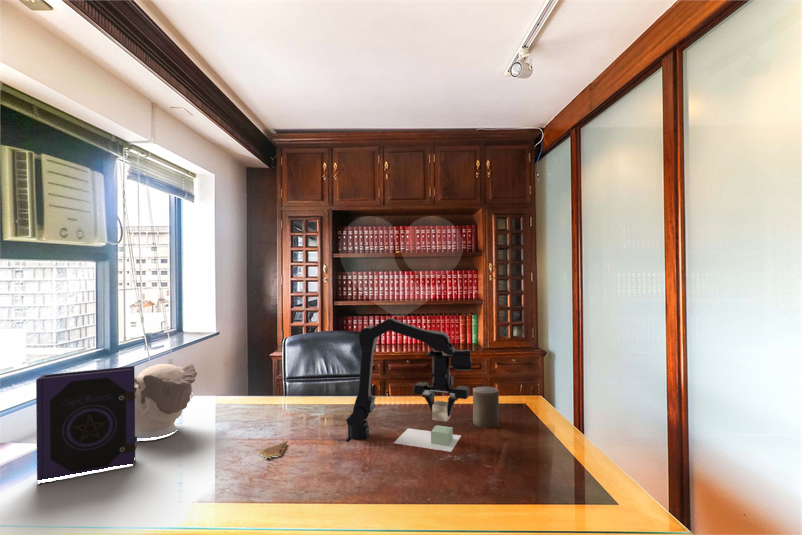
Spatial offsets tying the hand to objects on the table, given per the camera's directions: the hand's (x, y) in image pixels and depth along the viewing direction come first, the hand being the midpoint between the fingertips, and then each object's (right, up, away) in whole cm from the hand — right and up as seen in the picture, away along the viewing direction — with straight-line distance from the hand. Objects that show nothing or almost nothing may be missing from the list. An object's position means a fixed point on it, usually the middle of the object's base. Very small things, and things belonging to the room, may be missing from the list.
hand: (441, 415), depth 143 cm
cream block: (0, -1, 0) cm, 1 cm away
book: (-107, -11, -17) cm, 109 cm away
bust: (-102, -11, +11) cm, 103 cm away
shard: (-56, -11, -5) cm, 58 cm away
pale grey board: (-4, -10, +2) cm, 11 cm away
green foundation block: (0, -9, 0) cm, 9 cm away
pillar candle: (+18, -10, +16) cm, 27 cm away
